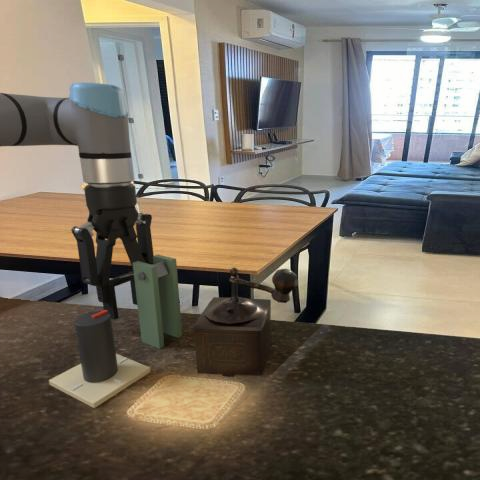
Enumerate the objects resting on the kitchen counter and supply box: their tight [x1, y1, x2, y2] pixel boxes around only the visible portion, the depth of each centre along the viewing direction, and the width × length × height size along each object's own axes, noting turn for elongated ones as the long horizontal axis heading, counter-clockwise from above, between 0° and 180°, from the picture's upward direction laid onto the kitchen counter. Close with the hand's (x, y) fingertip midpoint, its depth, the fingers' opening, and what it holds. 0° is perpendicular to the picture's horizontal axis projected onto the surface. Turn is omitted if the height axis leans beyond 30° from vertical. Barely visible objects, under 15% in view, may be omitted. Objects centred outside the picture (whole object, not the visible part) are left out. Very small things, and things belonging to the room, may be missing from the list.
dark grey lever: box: [109, 261, 168, 288], centre depth 66 cm, size 12×5×2 cm, turn 65°
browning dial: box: [73, 309, 118, 383], centre depth 55 cm, size 4×4×9 cm
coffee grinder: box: [193, 267, 299, 378], centre depth 60 cm, size 16×11×18 cm
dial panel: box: [48, 353, 152, 409], centre depth 56 cm, size 10×9×2 cm
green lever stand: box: [132, 253, 183, 350], centre depth 65 cm, size 10×9×16 cm
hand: (126, 310), depth 70 cm, fingers closed on dark grey lever, 5 cm apart
